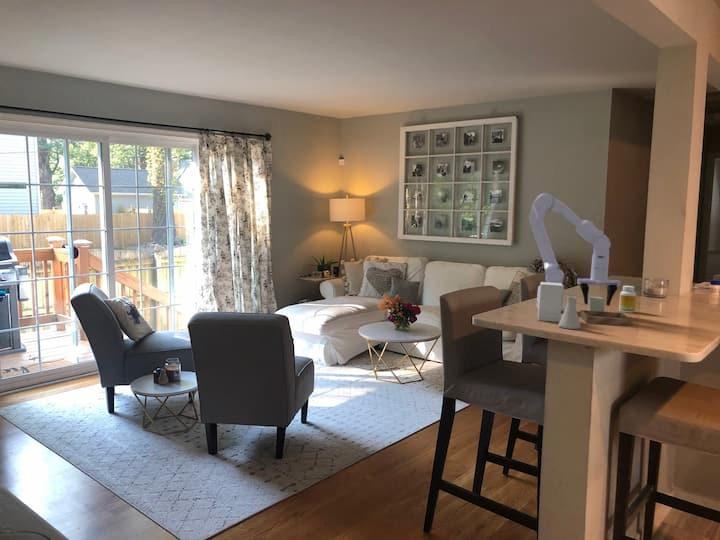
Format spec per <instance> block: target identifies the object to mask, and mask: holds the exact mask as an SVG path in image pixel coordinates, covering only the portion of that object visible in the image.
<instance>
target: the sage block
mask: <svg viewBox="0 0 720 540" xmlns="http://www.w3.org/2000/svg"><path fill="white" fill-rule="evenodd" d="M588 298H589V299H588V300H589V301H588V310H587V311H603V312H605V304H606V303H605V301H606V299H605V298H604V297H602V296H600V297H599V296H589V297H588Z"/></svg>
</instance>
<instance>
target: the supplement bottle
mask: <svg viewBox="0 0 720 540" xmlns="http://www.w3.org/2000/svg"><path fill="white" fill-rule="evenodd" d="M635 288H636V287H635V286H632V285H623V286H622V291H620V294H619V303H618V304H619V306H618V312H620V313H627V312H628V313H635V309H636V298H637V297H636V296H637V293H636V292H635Z"/></svg>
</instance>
